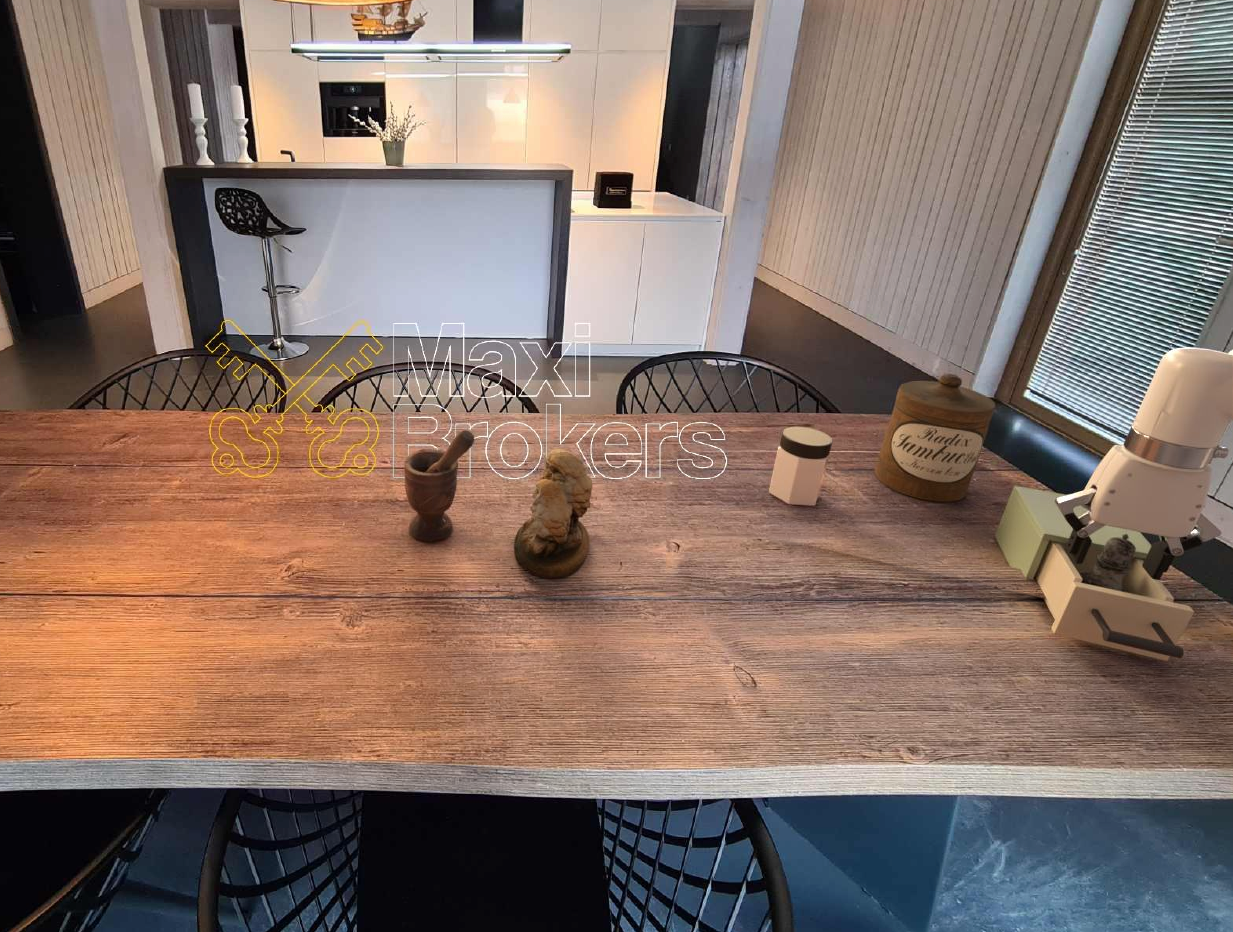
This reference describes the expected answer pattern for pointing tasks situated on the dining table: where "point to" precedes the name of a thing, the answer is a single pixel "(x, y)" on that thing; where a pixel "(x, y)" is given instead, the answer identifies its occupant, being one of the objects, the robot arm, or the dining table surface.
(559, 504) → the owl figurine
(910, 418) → the wooden container
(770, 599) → the dining table surface
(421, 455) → the mortar and pestle
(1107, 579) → the chess piece
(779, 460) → the jar
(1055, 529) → the cabinet
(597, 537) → the dining table surface
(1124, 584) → the drawer
